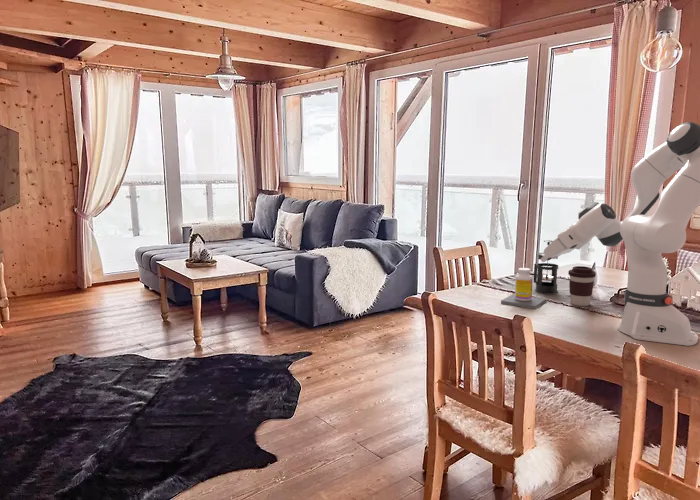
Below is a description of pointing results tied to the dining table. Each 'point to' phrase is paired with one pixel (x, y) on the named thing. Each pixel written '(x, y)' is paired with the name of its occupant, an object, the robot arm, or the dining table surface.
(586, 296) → the coffee cup
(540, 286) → the french press
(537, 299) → the mat
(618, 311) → the dining table surface
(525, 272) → the supplement bottle
